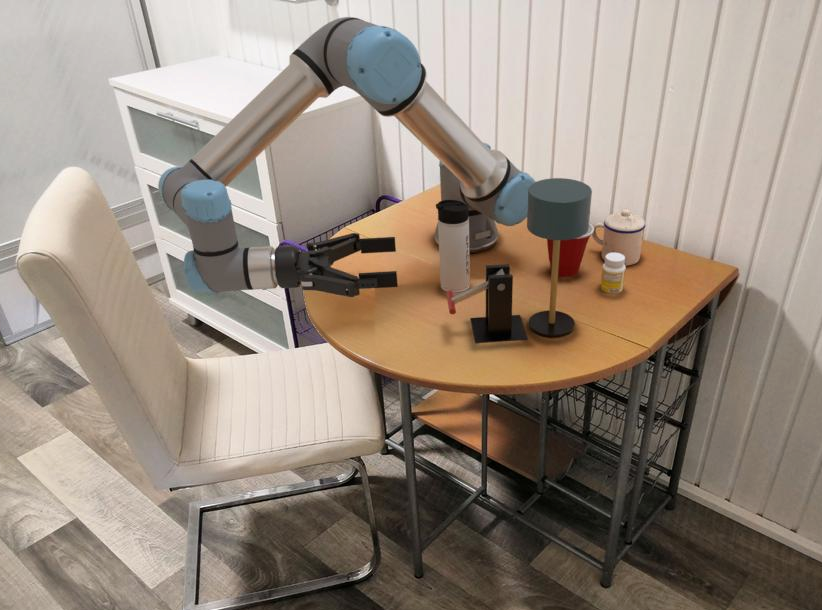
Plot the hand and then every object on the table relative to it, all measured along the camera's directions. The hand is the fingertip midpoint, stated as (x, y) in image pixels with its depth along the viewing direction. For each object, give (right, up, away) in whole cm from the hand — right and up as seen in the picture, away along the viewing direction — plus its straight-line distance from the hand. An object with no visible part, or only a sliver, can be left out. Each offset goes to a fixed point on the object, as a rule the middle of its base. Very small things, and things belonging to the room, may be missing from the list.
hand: (396, 260), depth 133 cm
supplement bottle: (+44, -4, +24) cm, 50 cm away
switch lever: (+15, -6, +6) cm, 17 cm away
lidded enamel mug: (+47, +6, +37) cm, 60 cm away
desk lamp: (+29, -12, +12) cm, 34 cm away
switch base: (+19, -13, +11) cm, 25 cm away
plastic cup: (+35, +1, +31) cm, 46 cm away
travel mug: (+10, -3, +25) cm, 28 cm away
